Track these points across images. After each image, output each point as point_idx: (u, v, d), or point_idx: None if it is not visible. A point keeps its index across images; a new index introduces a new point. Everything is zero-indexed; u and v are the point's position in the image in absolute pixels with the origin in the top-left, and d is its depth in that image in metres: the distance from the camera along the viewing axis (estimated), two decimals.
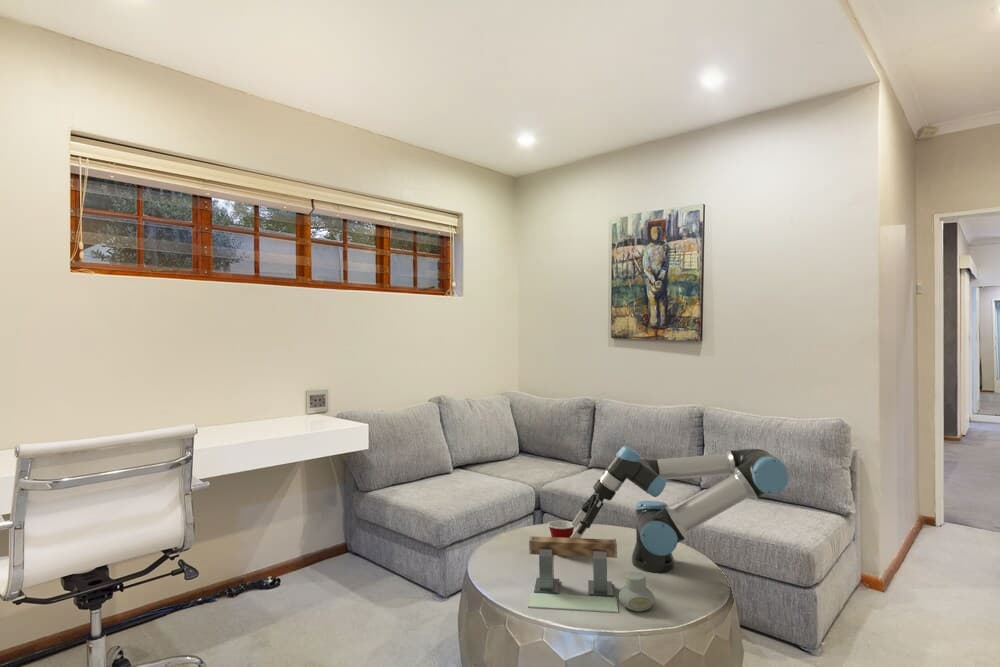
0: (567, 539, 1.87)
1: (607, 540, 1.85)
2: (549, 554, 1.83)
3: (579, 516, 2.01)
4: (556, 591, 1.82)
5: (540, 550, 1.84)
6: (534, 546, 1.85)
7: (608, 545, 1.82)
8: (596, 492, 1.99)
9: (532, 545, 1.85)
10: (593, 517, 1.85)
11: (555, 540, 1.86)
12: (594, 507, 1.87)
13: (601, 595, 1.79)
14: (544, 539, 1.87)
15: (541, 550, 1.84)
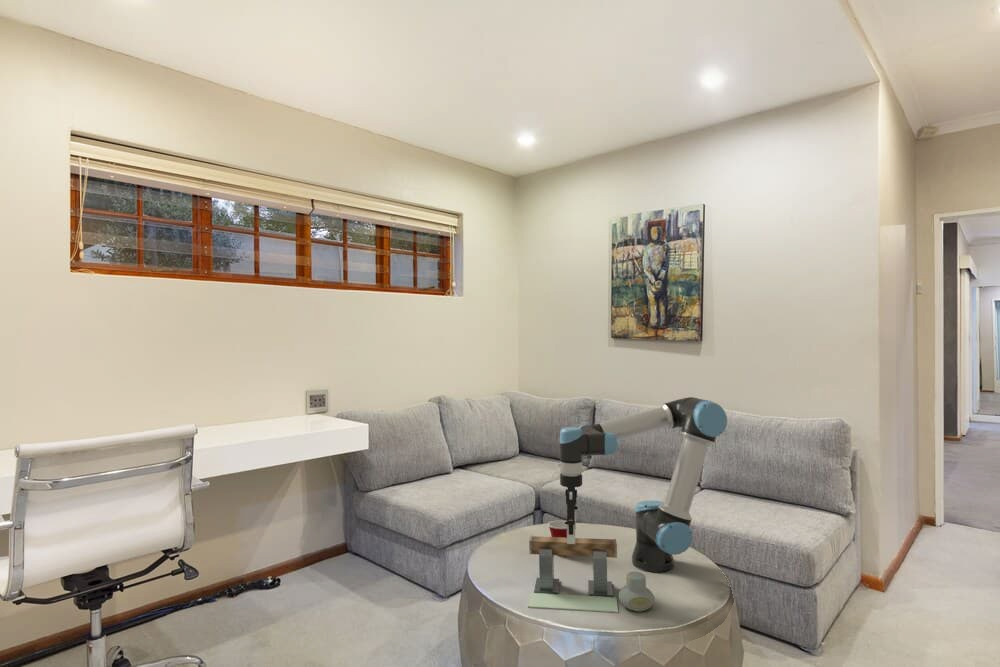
0: None
1: (607, 540, 1.85)
2: (549, 554, 1.83)
3: None
4: (556, 591, 1.82)
5: (540, 550, 1.84)
6: (534, 546, 1.85)
7: (608, 545, 1.82)
8: None
9: (532, 545, 1.86)
10: (572, 511, 1.77)
11: (555, 540, 1.86)
12: (568, 502, 1.78)
13: (601, 595, 1.79)
14: (544, 539, 1.87)
15: (541, 550, 1.84)
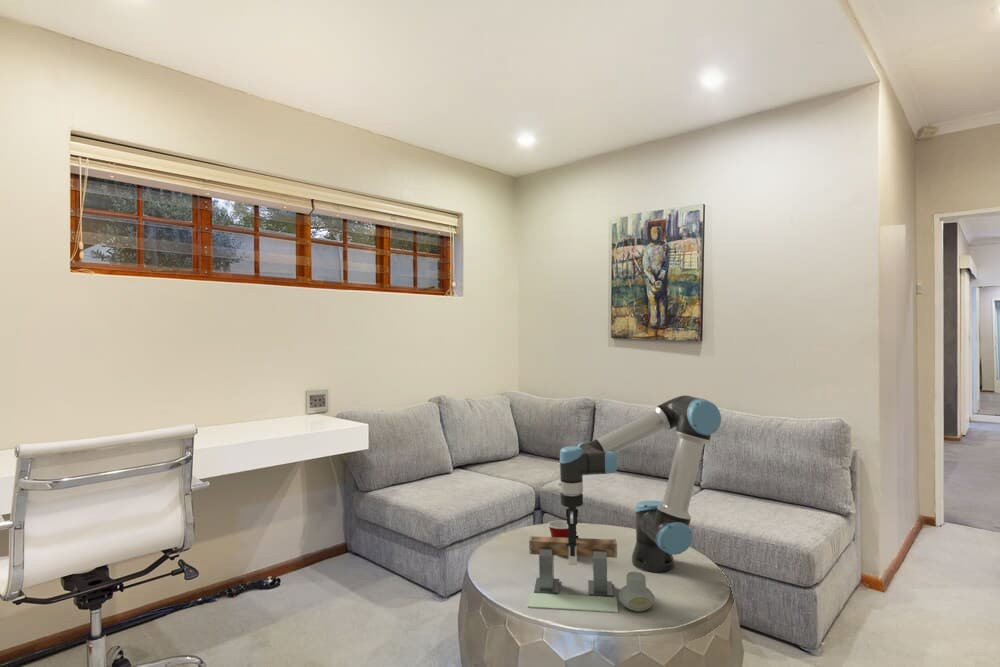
0: None
1: (607, 540, 1.85)
2: (549, 554, 1.83)
3: None
4: (556, 591, 1.82)
5: (540, 550, 1.84)
6: (534, 546, 1.85)
7: (608, 545, 1.82)
8: None
9: (532, 545, 1.85)
10: (574, 535, 1.80)
11: (555, 540, 1.86)
12: (569, 526, 1.80)
13: (601, 595, 1.79)
14: (544, 539, 1.87)
15: (541, 550, 1.84)
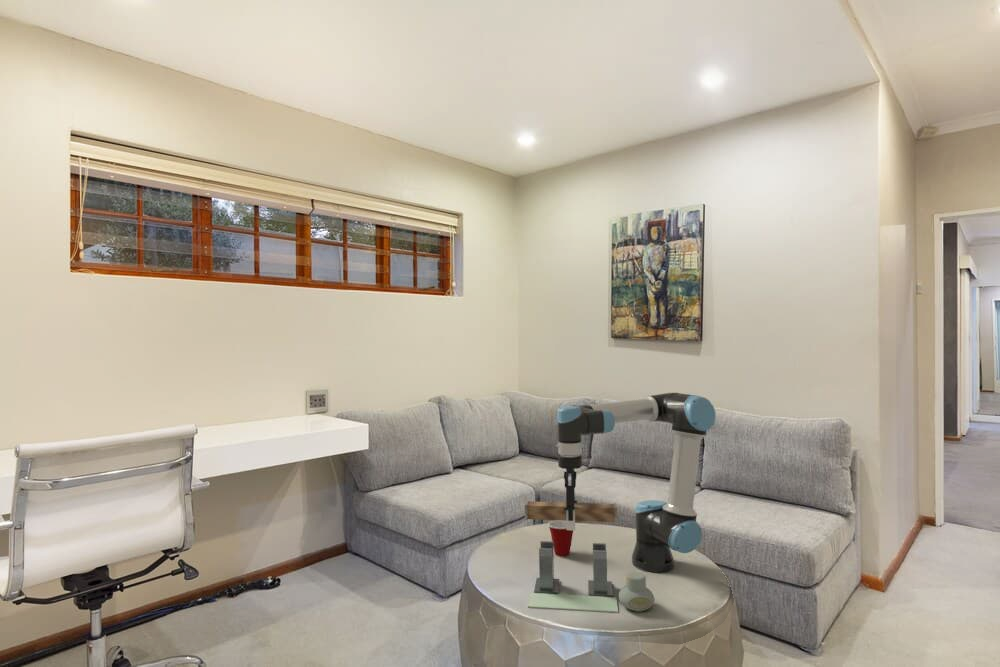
0: (565, 503, 1.77)
1: (607, 504, 1.75)
2: (549, 554, 1.83)
3: None
4: (556, 591, 1.82)
5: (540, 550, 1.84)
6: (530, 511, 1.75)
7: (608, 509, 1.72)
8: None
9: (528, 509, 1.75)
10: (572, 498, 1.70)
11: (552, 505, 1.76)
12: (567, 488, 1.70)
13: (601, 595, 1.79)
14: (540, 503, 1.77)
15: (541, 550, 1.84)
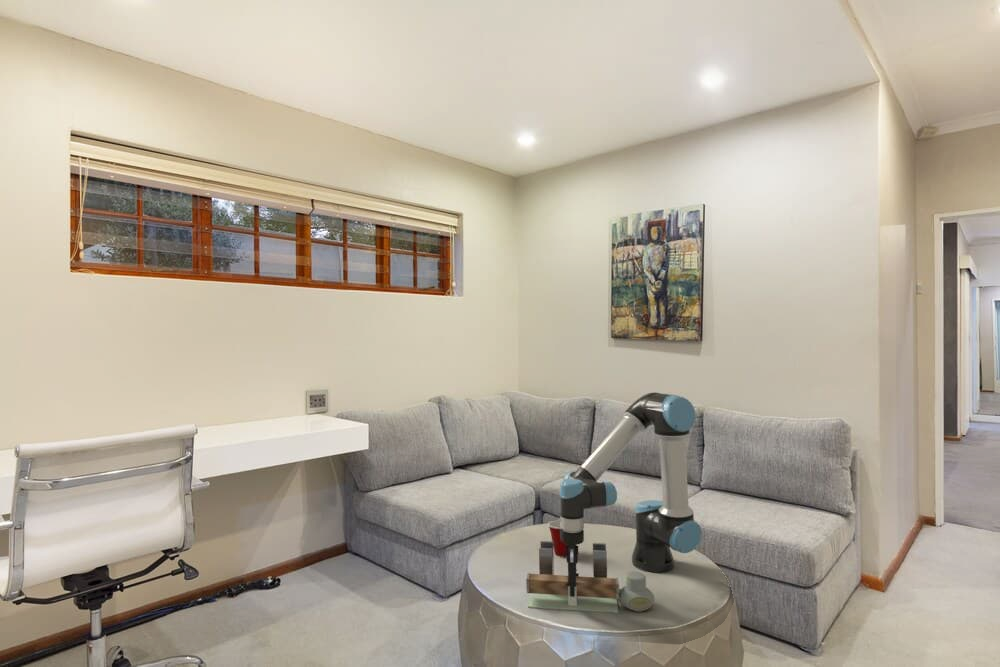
0: (567, 577, 1.77)
1: (609, 579, 1.75)
2: (549, 554, 1.83)
3: None
4: None
5: (540, 550, 1.84)
6: (532, 585, 1.75)
7: (610, 586, 1.72)
8: None
9: (529, 583, 1.76)
10: (574, 575, 1.70)
11: (554, 579, 1.76)
12: (569, 565, 1.70)
13: None
14: (542, 576, 1.77)
15: (541, 550, 1.84)
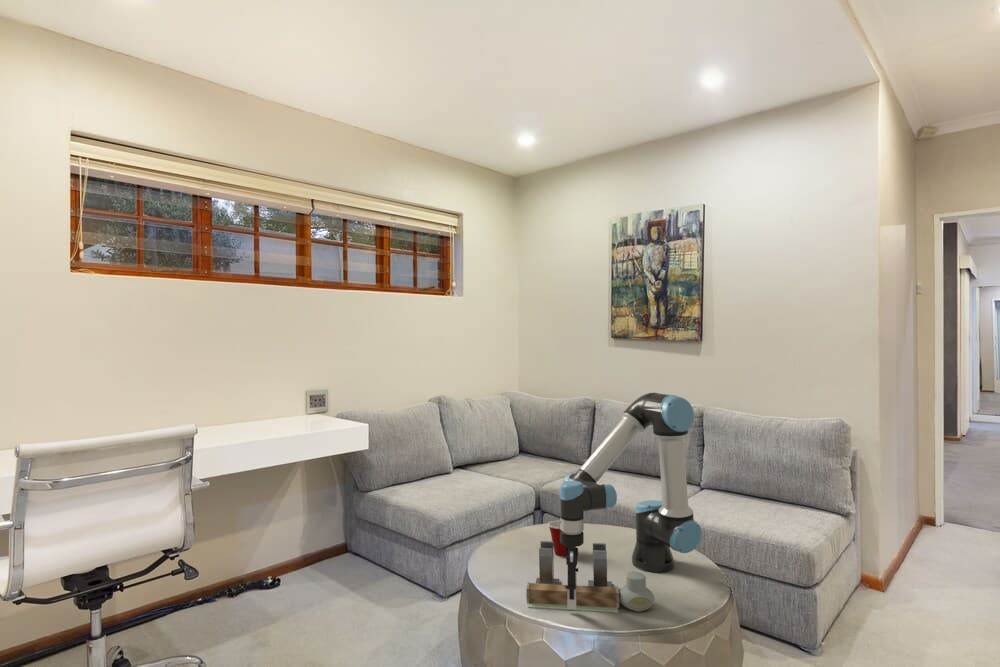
0: None
1: (609, 588, 1.75)
2: (549, 554, 1.83)
3: None
4: None
5: (540, 550, 1.84)
6: (532, 594, 1.75)
7: (610, 595, 1.72)
8: None
9: (529, 593, 1.75)
10: (573, 575, 1.67)
11: (554, 588, 1.76)
12: (569, 565, 1.69)
13: None
14: (542, 586, 1.77)
15: (541, 550, 1.84)
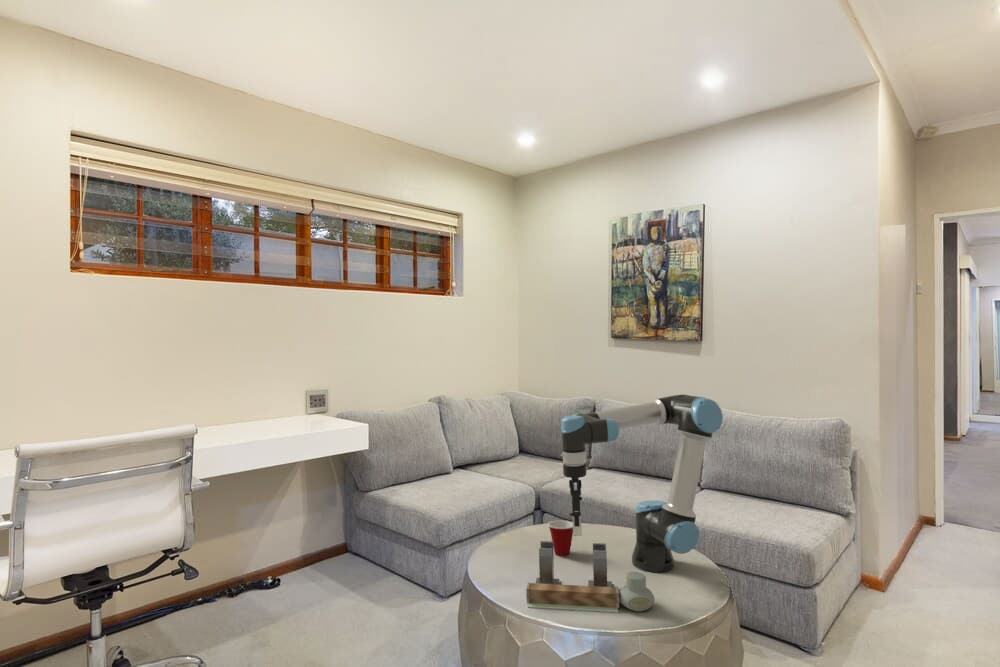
0: (567, 586, 1.77)
1: (609, 588, 1.75)
2: (549, 554, 1.83)
3: None
4: None
5: (540, 550, 1.84)
6: (532, 594, 1.75)
7: (610, 595, 1.72)
8: None
9: (529, 593, 1.75)
10: (578, 502, 1.71)
11: (554, 588, 1.76)
12: (573, 492, 1.72)
13: None
14: (542, 586, 1.77)
15: (541, 550, 1.84)
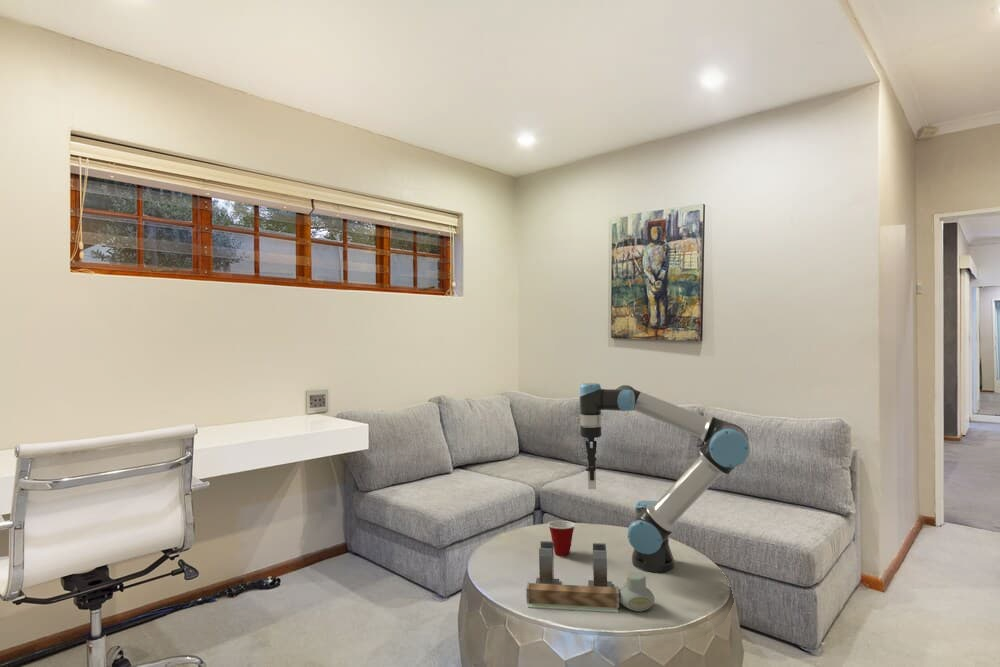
0: (567, 586, 1.77)
1: (609, 588, 1.75)
2: (549, 554, 1.83)
3: None
4: None
5: (540, 550, 1.84)
6: (532, 594, 1.75)
7: (610, 595, 1.72)
8: None
9: (529, 593, 1.75)
10: (593, 458, 1.91)
11: (554, 588, 1.76)
12: (589, 450, 1.92)
13: None
14: (542, 586, 1.77)
15: (541, 550, 1.84)
